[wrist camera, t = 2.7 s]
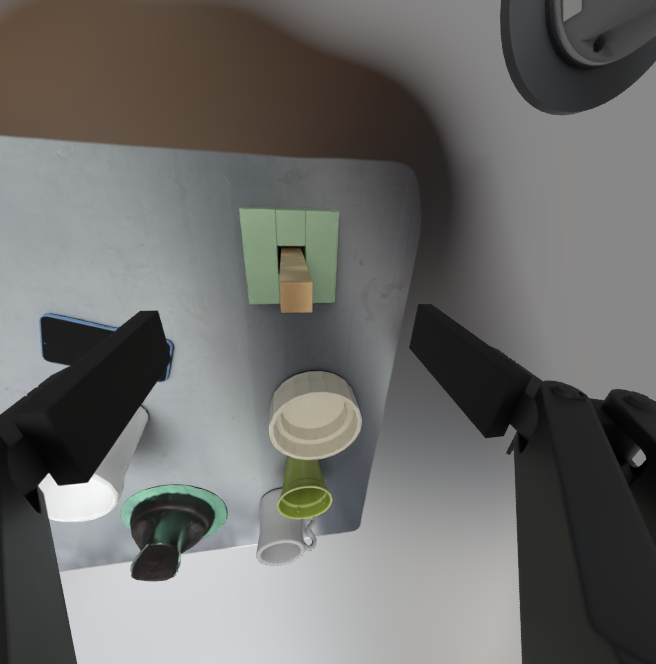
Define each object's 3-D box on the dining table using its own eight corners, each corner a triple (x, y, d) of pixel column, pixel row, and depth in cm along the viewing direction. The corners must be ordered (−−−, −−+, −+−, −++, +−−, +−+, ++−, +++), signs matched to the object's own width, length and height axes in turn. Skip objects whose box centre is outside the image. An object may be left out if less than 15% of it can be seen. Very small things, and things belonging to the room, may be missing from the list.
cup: (158, 389, 40) (107, 466, 29) (166, 436, 44) (125, 519, 33) (82, 388, 38) (-6, 470, 27) (98, 437, 42) (29, 526, 31)
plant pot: (308, 479, 55) (312, 524, 48) (269, 467, 52) (266, 513, 44) (334, 451, 53) (342, 494, 45) (294, 436, 49) (296, 481, 41)
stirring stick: (299, 241, 33) (312, 282, 17) (299, 259, 34) (312, 312, 18) (281, 241, 33) (279, 282, 17) (282, 259, 34) (281, 313, 18)
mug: (253, 508, 57) (248, 565, 48) (269, 483, 54) (267, 538, 45) (304, 515, 61) (307, 568, 53) (322, 492, 58) (329, 544, 49)
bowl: (324, 352, 42) (331, 375, 36) (366, 405, 48) (376, 431, 43) (253, 398, 43) (248, 425, 38) (302, 442, 50) (304, 471, 45)
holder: (330, 209, 32) (339, 211, 27) (327, 287, 37) (334, 302, 31) (246, 206, 31) (238, 208, 25) (254, 288, 35) (248, 304, 30)
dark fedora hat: (107, 488, 47) (226, 481, 51) (143, 494, 61) (232, 488, 66) (67, 607, 38) (213, 585, 43) (119, 580, 53) (223, 566, 58)
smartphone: (166, 384, 39) (40, 362, 34) (168, 380, 40) (46, 358, 35) (172, 342, 36) (36, 313, 32) (174, 339, 37) (42, 310, 32)
